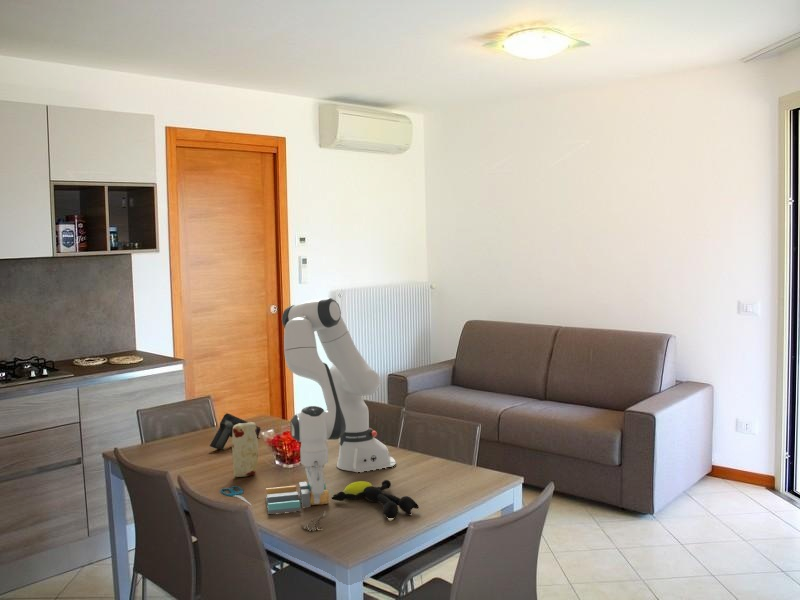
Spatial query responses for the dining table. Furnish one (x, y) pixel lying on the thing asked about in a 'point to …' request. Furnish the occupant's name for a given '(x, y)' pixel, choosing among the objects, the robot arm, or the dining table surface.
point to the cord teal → (306, 487)
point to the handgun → (227, 430)
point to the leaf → (312, 526)
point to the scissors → (235, 493)
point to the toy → (377, 497)
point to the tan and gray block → (308, 498)
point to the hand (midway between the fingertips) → (315, 499)
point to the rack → (282, 499)
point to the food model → (244, 449)
